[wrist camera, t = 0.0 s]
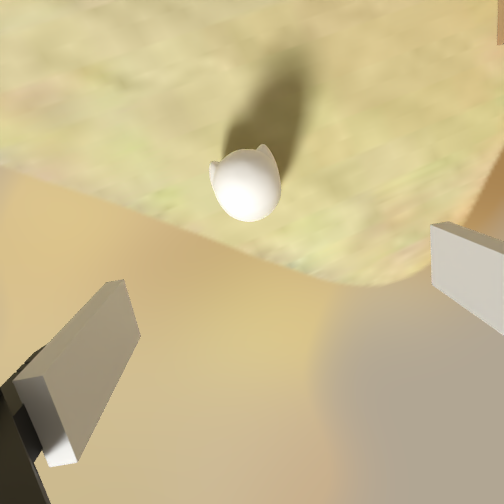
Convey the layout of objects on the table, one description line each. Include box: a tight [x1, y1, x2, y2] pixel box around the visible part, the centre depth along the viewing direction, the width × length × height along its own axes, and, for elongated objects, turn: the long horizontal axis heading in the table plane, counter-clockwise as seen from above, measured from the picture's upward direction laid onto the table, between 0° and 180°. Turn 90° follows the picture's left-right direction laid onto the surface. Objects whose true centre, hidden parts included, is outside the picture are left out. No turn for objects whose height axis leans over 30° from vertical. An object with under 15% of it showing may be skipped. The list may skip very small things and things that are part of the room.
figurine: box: [209, 144, 281, 222], centre depth 36 cm, size 7×8×12 cm
